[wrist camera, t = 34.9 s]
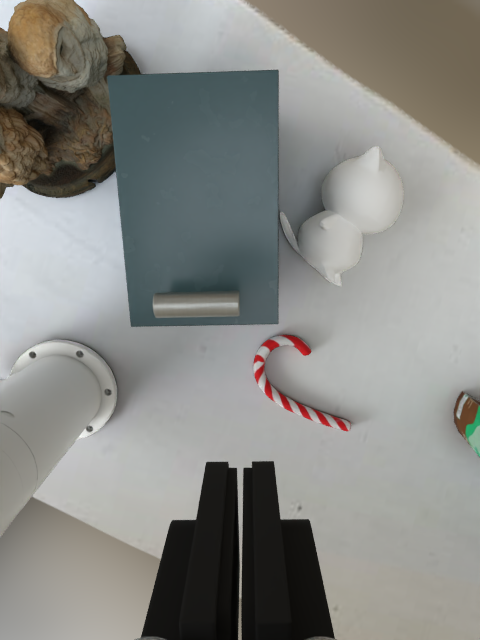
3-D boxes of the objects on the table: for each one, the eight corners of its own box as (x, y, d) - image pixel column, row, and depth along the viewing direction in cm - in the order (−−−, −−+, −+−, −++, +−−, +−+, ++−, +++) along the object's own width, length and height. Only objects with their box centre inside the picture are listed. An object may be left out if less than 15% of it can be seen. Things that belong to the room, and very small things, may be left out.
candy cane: (332, 449, 47) (237, 374, 45) (330, 444, 48) (237, 370, 46) (378, 405, 45) (282, 324, 43) (374, 400, 47) (281, 321, 45)
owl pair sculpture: (72, 233, 43) (-39, 239, 26) (-20, 158, 41) (-202, 114, 24) (173, 92, 39) (118, -4, 22) (76, 5, 37) (-60, -169, 21)
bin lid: (277, 321, 32) (283, 340, 27) (133, 324, 33) (112, 343, 28) (277, 73, 28) (284, 40, 23) (110, 79, 28) (80, 48, 23)
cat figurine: (331, 285, 34) (419, 159, 31) (245, 227, 38) (315, 112, 35) (355, 295, 42) (427, 195, 39) (281, 246, 46) (340, 153, 43)
